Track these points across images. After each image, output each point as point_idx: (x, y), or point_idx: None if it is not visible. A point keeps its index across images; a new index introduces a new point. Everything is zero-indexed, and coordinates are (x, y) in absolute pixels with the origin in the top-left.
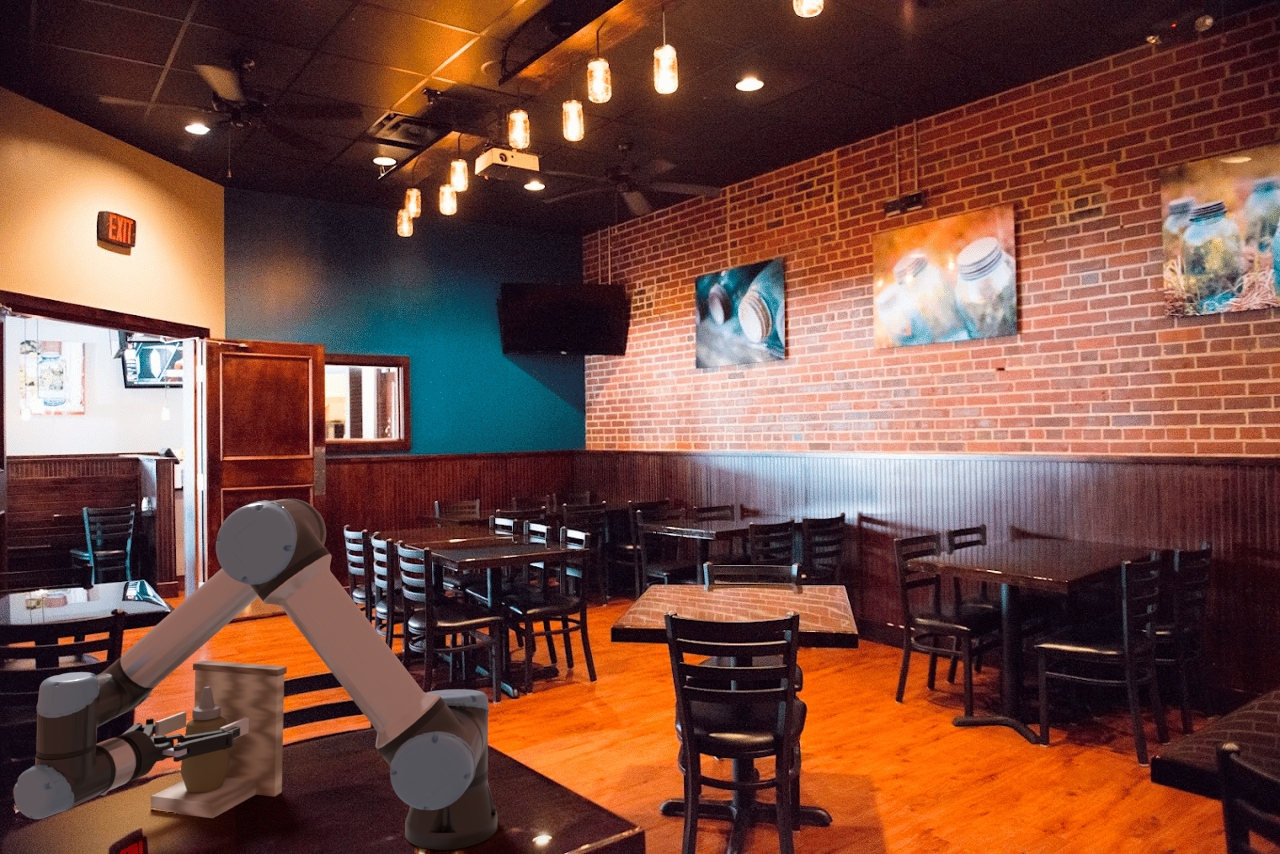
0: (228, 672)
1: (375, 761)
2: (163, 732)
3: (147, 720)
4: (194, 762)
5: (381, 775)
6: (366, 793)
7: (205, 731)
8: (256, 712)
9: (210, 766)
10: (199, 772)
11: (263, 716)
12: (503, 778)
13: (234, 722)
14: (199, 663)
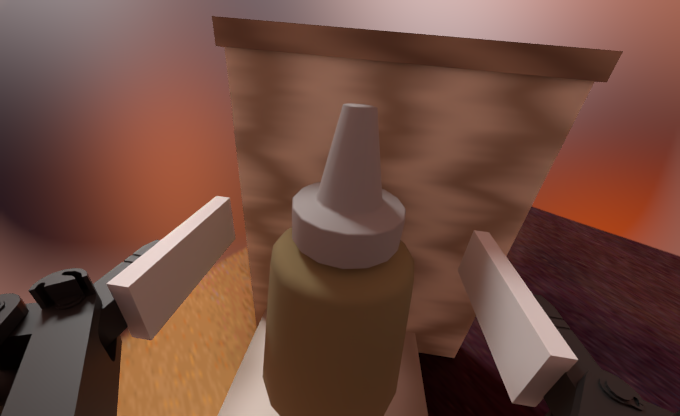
0: (373, 59)
1: None
2: (169, 305)
3: (45, 288)
4: (341, 413)
5: (524, 267)
6: (590, 328)
7: (388, 317)
8: (456, 202)
9: (387, 399)
10: None
11: (478, 214)
12: (677, 269)
13: (505, 273)
14: (238, 19)
